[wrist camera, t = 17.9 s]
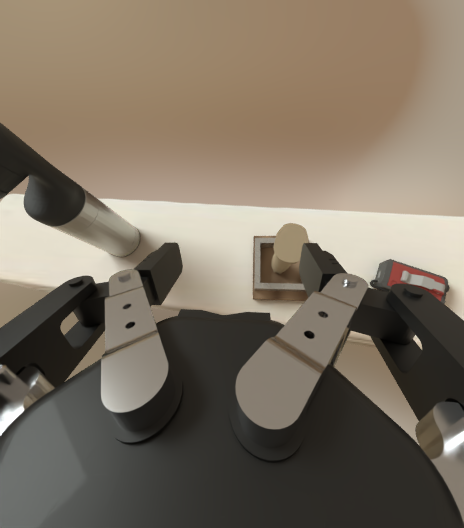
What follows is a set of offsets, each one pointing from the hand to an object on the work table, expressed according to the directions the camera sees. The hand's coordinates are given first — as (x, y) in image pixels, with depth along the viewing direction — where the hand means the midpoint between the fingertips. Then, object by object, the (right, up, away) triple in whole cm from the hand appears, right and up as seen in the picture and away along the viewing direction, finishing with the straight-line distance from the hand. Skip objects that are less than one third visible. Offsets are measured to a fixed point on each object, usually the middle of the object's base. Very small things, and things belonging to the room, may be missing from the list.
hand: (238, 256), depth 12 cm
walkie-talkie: (+40, -7, +28) cm, 49 cm away
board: (+11, -1, +32) cm, 34 cm away
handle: (+10, -1, +31) cm, 32 cm away
